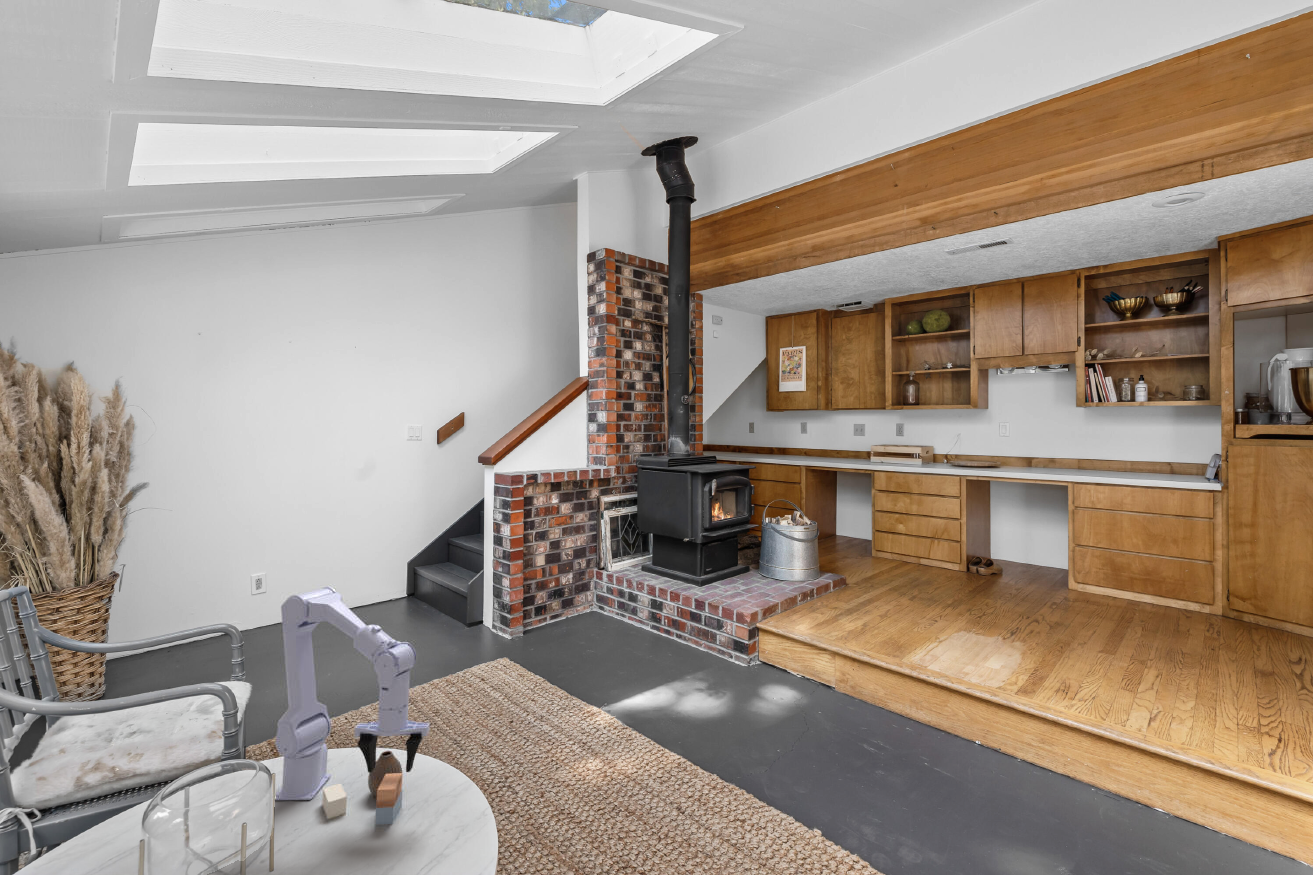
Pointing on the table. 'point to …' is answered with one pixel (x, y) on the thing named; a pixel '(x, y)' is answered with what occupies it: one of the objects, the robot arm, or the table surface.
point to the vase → (383, 770)
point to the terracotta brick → (389, 790)
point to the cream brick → (334, 801)
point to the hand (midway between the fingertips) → (390, 769)
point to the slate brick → (388, 813)
